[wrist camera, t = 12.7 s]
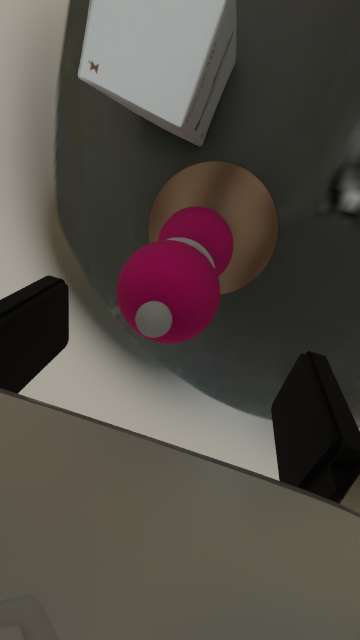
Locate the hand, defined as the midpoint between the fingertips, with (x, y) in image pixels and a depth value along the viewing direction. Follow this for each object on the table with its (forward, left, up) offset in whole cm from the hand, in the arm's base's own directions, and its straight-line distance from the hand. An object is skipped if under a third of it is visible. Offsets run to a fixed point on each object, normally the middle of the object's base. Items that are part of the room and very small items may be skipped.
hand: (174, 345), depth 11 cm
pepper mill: (+1, +1, -22) cm, 22 cm away
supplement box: (+6, -12, -24) cm, 28 cm away
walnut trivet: (0, 0, -24) cm, 24 cm away
